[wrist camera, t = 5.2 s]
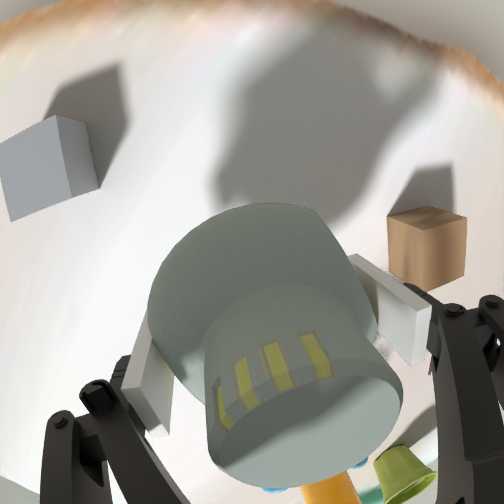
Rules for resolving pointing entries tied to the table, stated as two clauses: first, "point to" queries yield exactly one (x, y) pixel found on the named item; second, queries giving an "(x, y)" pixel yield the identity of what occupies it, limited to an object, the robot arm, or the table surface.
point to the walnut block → (427, 247)
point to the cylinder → (329, 490)
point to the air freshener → (274, 345)
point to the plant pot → (402, 475)
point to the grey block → (46, 165)
